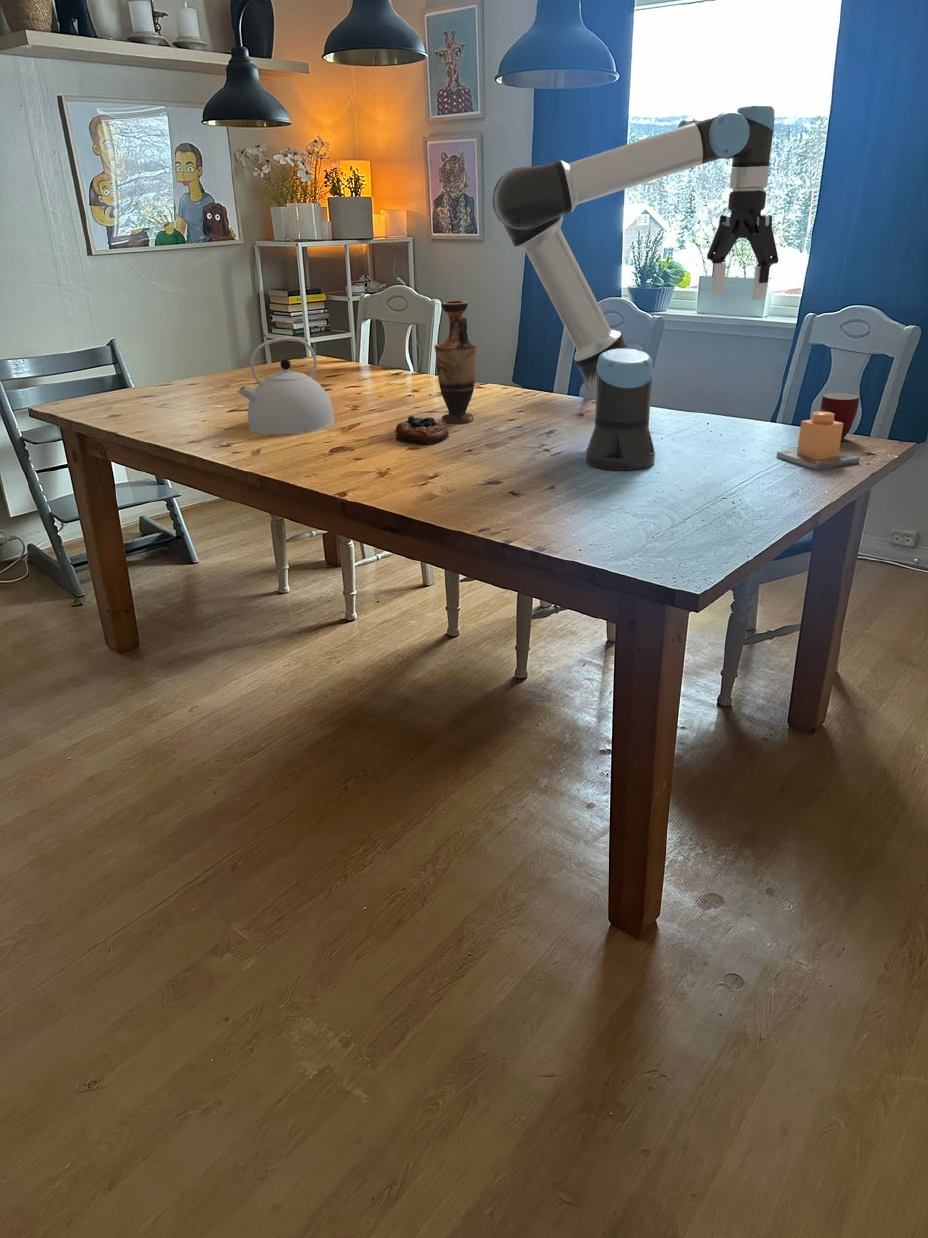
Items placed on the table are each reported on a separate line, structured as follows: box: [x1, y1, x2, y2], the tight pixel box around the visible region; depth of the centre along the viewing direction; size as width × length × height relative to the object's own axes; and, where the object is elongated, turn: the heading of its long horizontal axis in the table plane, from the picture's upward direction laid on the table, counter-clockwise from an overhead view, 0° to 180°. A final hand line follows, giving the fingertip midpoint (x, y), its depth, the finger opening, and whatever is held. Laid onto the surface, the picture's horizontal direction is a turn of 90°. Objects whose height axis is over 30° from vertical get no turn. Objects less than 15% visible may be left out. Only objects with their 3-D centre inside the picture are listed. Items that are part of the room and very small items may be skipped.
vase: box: [434, 300, 478, 424], centre depth 232 cm, size 11×11×30 cm
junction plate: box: [776, 448, 860, 472], centre depth 195 cm, size 12×12×7 cm
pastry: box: [394, 415, 450, 446], centre depth 221 cm, size 11×12×6 cm
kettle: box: [237, 336, 335, 436], centre depth 234 cm, size 25×23×22 cm
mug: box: [820, 392, 860, 441], centre depth 210 cm, size 10×8×10 cm
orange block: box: [797, 410, 843, 460], centre depth 194 cm, size 6×6×9 cm
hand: (737, 296), depth 197 cm, fingers open, 13 cm apart
